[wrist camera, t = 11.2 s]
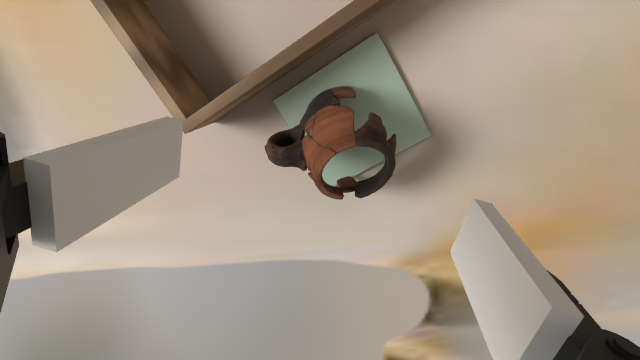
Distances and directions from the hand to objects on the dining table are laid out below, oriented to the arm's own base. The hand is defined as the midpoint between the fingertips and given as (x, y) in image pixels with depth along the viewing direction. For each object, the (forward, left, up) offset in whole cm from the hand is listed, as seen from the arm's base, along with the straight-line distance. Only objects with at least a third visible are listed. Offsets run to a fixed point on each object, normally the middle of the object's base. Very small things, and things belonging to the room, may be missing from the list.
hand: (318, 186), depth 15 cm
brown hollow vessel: (-1, -3, -21) cm, 21 cm away
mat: (0, 0, -20) cm, 20 cm away
